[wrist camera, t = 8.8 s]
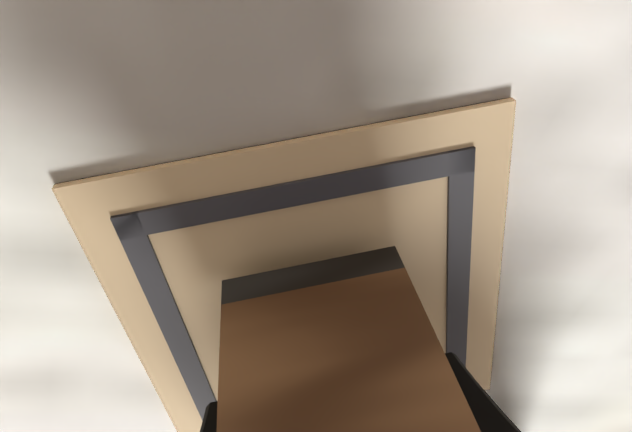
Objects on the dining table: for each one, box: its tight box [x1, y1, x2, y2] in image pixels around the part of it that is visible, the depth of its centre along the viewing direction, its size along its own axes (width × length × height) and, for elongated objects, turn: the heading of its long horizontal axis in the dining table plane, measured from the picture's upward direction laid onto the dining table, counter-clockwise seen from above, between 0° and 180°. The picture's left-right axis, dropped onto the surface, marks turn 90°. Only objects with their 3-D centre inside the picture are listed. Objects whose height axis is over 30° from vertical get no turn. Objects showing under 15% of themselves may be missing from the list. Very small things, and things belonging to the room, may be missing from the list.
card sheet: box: [52, 98, 516, 432], centre depth 13 cm, size 10×10×1 cm
